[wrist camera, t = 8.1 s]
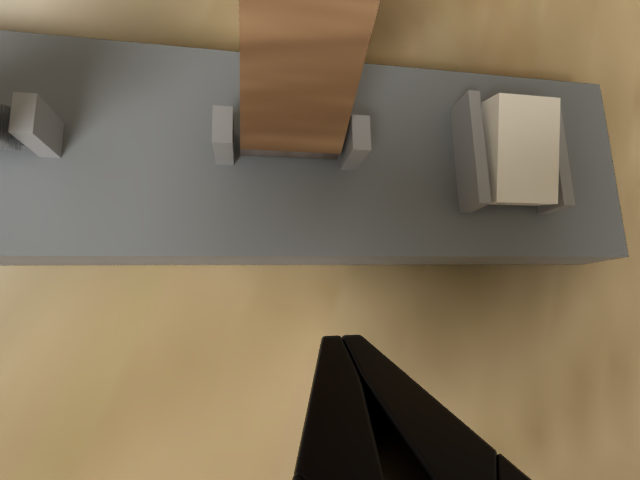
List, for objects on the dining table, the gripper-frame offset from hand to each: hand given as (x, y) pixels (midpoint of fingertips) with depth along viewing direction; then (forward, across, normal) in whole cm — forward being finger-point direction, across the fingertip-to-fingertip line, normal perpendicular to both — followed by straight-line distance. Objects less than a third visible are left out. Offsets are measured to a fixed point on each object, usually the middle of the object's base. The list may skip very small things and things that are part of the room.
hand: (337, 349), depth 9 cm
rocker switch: (+12, +11, 0) cm, 16 cm away
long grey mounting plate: (+15, 0, -3) cm, 15 cm away
